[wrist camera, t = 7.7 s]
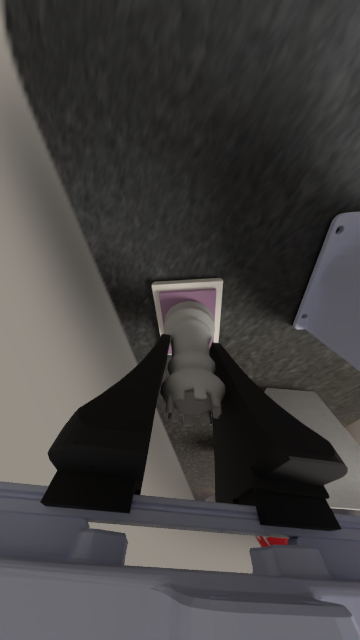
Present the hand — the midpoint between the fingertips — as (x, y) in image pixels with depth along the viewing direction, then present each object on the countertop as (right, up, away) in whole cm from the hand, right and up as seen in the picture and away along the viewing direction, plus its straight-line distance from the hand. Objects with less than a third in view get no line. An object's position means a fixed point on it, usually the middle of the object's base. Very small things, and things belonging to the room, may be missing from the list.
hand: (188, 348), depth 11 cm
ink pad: (0, +2, +4) cm, 5 cm away
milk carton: (+15, -9, +10) cm, 20 cm away
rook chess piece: (0, +2, +3) cm, 3 cm away
